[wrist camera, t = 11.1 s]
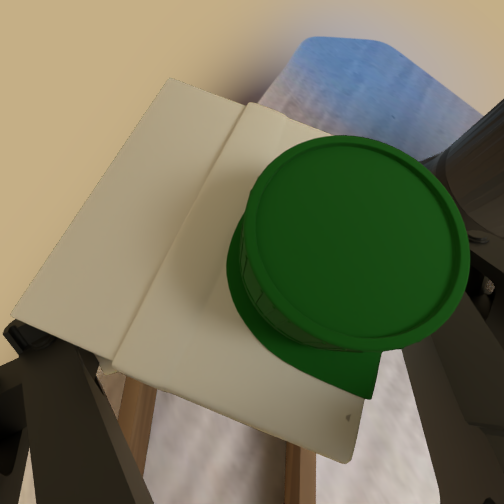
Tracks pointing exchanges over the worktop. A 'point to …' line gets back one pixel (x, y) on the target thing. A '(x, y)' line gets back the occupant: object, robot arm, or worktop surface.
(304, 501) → the wooden tray
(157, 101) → the soya milk
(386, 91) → the worktop surface
